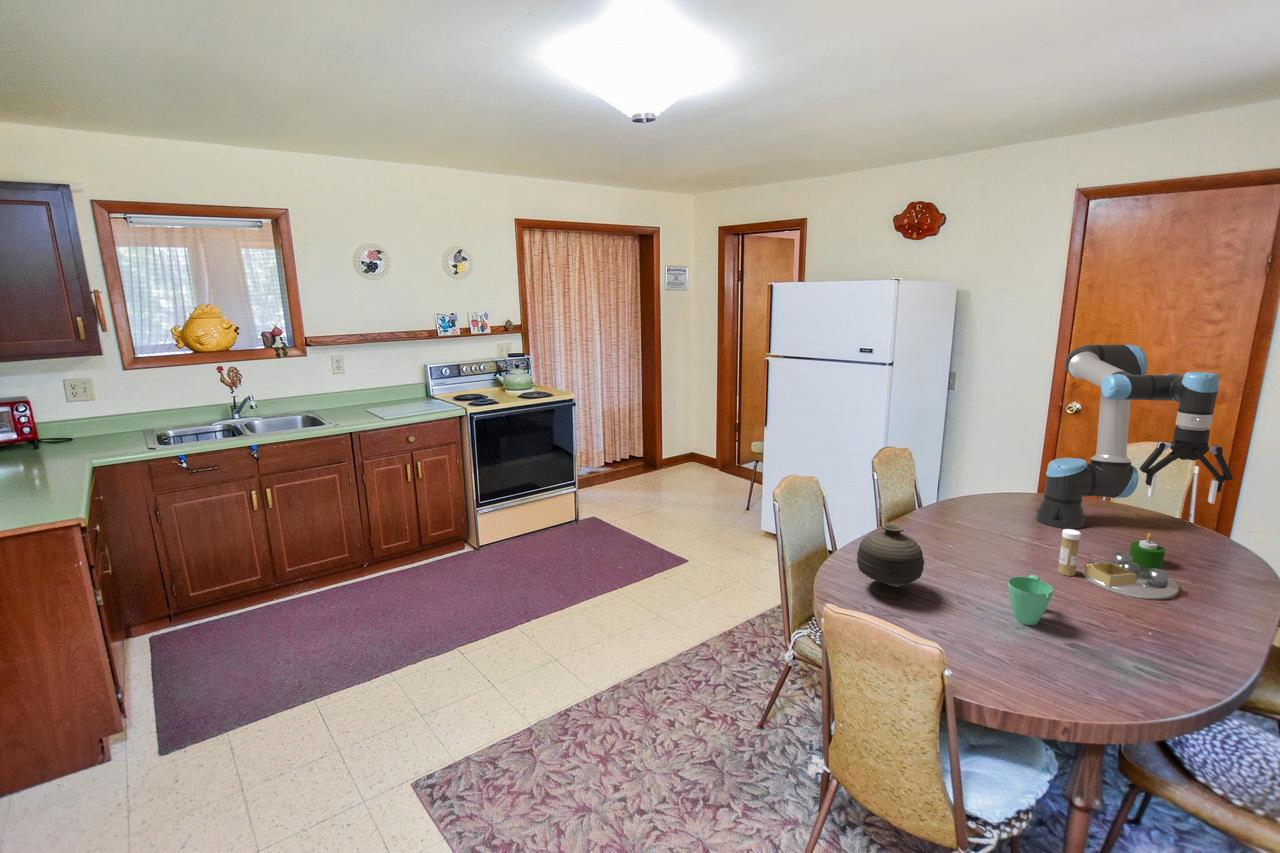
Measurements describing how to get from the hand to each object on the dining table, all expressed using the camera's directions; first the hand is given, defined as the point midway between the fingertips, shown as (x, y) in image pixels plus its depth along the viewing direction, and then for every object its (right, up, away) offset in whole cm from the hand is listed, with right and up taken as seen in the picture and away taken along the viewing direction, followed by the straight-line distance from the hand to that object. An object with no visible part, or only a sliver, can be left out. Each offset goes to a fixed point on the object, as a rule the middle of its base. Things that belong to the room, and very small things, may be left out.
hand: (1180, 499), depth 179 cm
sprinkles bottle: (-27, -23, +8) cm, 37 cm away
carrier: (-13, -24, +2) cm, 28 cm away
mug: (-54, -29, -16) cm, 64 cm away
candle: (+1, -22, +14) cm, 26 cm away
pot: (-85, -26, 0) cm, 89 cm away
